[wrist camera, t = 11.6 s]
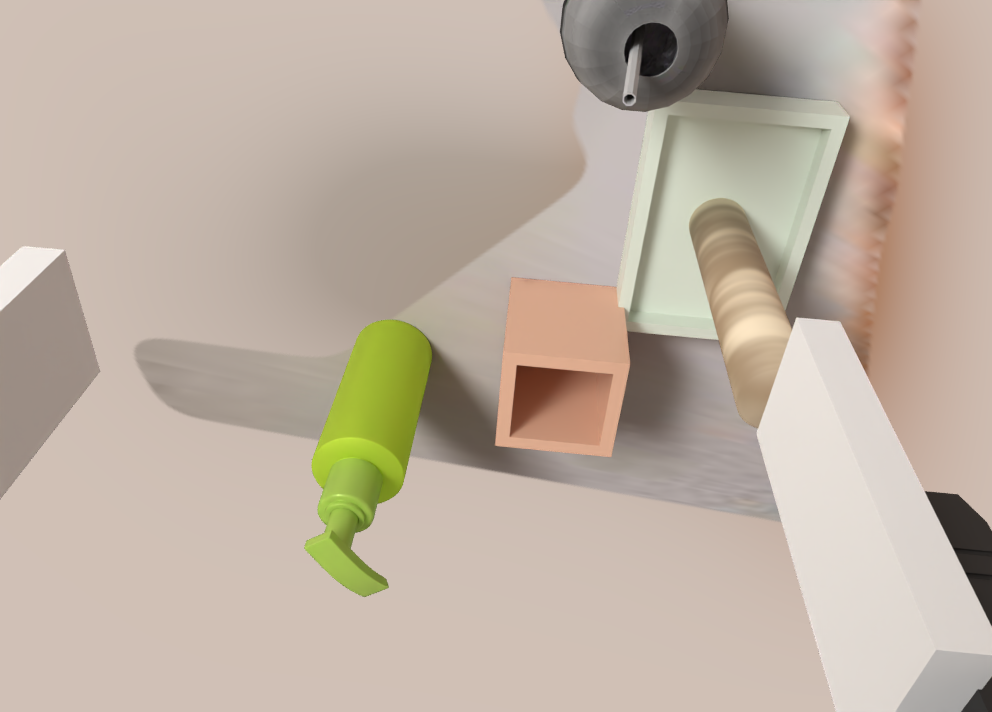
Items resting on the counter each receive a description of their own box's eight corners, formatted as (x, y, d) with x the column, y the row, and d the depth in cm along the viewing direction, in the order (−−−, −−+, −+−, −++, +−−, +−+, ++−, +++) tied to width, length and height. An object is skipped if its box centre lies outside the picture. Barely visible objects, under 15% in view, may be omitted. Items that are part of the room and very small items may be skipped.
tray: (652, 85, 48) (656, 99, 46) (837, 101, 48) (850, 116, 45) (612, 309, 57) (614, 330, 55) (766, 324, 57) (773, 345, 55)
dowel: (695, 195, 50) (747, 366, 36) (752, 200, 50) (828, 373, 36) (683, 245, 52) (728, 426, 38) (738, 250, 52) (804, 433, 38)
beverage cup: (709, 10, 45) (788, 142, 29) (587, 60, 47) (597, 209, 31) (673, -128, 41) (741, -65, 25) (541, -67, 43) (527, 28, 27)
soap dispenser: (395, 401, 64) (336, 614, 48) (339, 340, 61) (257, 545, 44) (455, 372, 62) (415, 584, 45) (401, 307, 58) (337, 510, 42)
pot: (511, 277, 56) (503, 351, 49) (622, 287, 56) (630, 364, 49) (503, 365, 61) (495, 445, 54) (605, 375, 61) (611, 457, 53)
